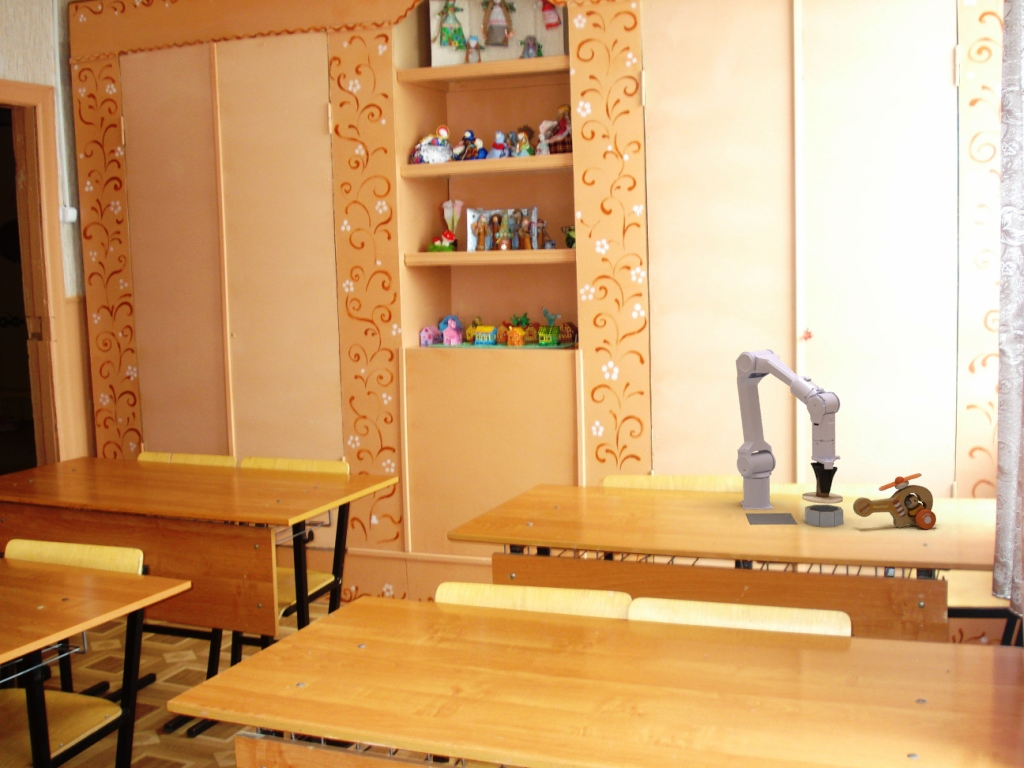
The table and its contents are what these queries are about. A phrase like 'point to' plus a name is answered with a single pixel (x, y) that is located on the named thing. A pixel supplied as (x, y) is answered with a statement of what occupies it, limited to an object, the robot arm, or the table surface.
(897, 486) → the toy helicopter
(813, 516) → the bowl
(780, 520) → the mat
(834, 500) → the lid
